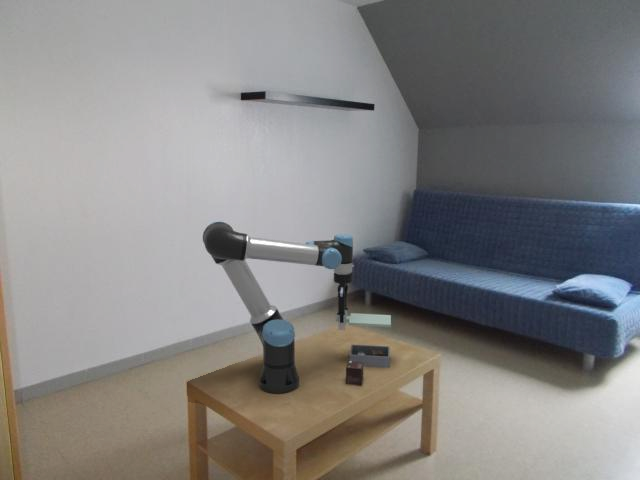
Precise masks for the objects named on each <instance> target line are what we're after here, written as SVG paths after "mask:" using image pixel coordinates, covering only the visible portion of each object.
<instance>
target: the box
mask: <svg viewBox="0 0 640 480" xmlns="http://www.w3.org/2000/svg"><path fill="white" fill-rule="evenodd" d="M363 382H364V366H363V362H355V361H350V360H349V361H347V364H346V367H345V385H352V386H360V387H362V386H363Z"/></svg>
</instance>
